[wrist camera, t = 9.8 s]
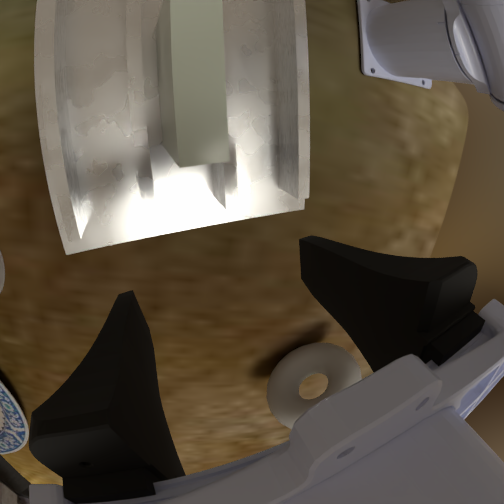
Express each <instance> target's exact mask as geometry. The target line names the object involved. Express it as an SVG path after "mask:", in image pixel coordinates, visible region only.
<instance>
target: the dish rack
mask: <svg viewBox="0 0 504 504" xmlns="http://www.w3.org/2000/svg"><path fill="white" fill-rule="evenodd" d="M162 3H163V0H37V7H36V19H35V39H34V73H35V94H36V107H37V118H38V127H39V135H40V142H41V149H42V155H43V161H44V167H45V172H46V177H47V182H48V187H49V192H50V196H51V201H52V205H53V209H54V213H55V217H56V221H57V225H58V228H59V232H60V236H61V239H62V243H63V246H64V249H65V252H66V255H68V254H73V253H77V252H82V251H86V250H91V249H95V248H100V247H104V246H109V245H114V244H118V243H123V242H128V241H133V240H138V239H142V238H147V237H152V236H157V235H162V234H167V233H172V232H178V231H183V230H188V229H193V228H199V227H204V226H209V225H215V224H220V223H226V222H231V221H237V220H242V219H248V218H254V217H260V216H266V215H272V214H278V213H284V212H290V211H296V210H302V209H304V203H305V198H309V176H310V101H309V64H308V41H307V23H306V8H305V0H222V7H223V34H224V58H225V80H226V100H227V119H228V138H229V155H230V161H228V162H220V163H212V164H205V165H198V166H191V167H184V168H179V166H178V165H177V164H176V163H175V161H174V160H173V159H172V157H171V156H170V155H169V153H168V152H167V151H166V149H165V148H164V147H163V140H162V129H161V118H160V105H159V91H158V74H157V52H156V25H157V21H158V17H159V14H160V10H161V6H162Z"/></svg>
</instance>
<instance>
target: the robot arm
mask: <svg viewBox="0 0 504 504" xmlns="http://www.w3.org/2000/svg"><path fill="white" fill-rule="evenodd" d="M357 4H358V15H359V28H360V45H361V69H362V72H363V74H364V75H367V76H372V77H378V78H383V79H388V80H393V81H398V82H402V83H406V84H411V85H415V86H419V87H423V88H427V89H430V88H431V86H432V80H441V81H451V82H460V83H467V84H474V85H475V87H476V90H477V92H480V93H485V94H489V95H490V99H491V101H492V102H493V104H494V105H495V106H496V107H498V108H499V109H501V110H502V111H504V0H407V1H402V2H397V3H392V4H391V3H389V2H386V1H383V0H368V1H367V0H357ZM371 69H372V72H371ZM299 246H300V263H301V279H302V280H303V282H304V283H305V285H306V286H307V288H308V289H309V291H310V292H311V293H312V295H313V296H314V297H315V298H316V299H317V300H318V302H319V303H320V304H321V305H322V306H323V307H324V308H325V309H326V310H327V311H328V312H329V313H330V314H331V315H332V316H333V318H334V319H335V320H336V321H337V322H338V323H339V324H340V325H341V326H342V327H343V328H344V330H345V331H346V332H347V333H348V335H349V336H350V337H351V339H352V340H353V342H354V343H355V344H356V346H357V347H358V349H359V350H360V352H361V353H362V355H363V356H364V358H365V359H366V361H367V362H368V364H369V365H370V367H371V369H372V370H373V372H374V373H373V374H371V375H369V376H367V377H365V378H364V379H362V380H360V381H358V382H356V383H355V384H353V385H351V386H349V387H347V388H345V389H343V390H341V391H339V392H337V393H335V394H333V395H331V396H329V397H327V398H325V399H324V400H322V401H320V402H319V403H317V404H315V405H314V406H312V407H311V408H309V409H307V410H306V411H305V412H304V413H303V414H302V415H301V416H300V417H299V418H298V419H297V420H296V421H295V423H294V425H293V428H292V430H291V432H290V435H289V439H290V440H289V441H287V442H285V443H282V444H280V445H277V446H275V447H272V448H270V449H267V450H265V451H262V452H260V453H257V454H254V455H251V456H249V457H246V458H243V459H240V460H237V461H234V462H231V463H228V464H225V465H222V466H218V467H215V468H212V469H208V470H205V471H201V472H198V473H194V474H190V475H185V472H184V470H183V468H182V465H181V463H180V460H179V457H178V455H177V452H176V449H175V446H174V443H173V440H172V437H171V434H170V431H169V428H168V425H167V422H166V418H165V415H164V411H163V407H162V404H161V399H160V394H159V387H158V379H157V371H156V363H155V354H154V347H153V343H152V339H151V334H150V330H149V327H148V325H147V323H146V320H145V318H144V316H143V313H142V311H141V309H140V306H139V304H138V302H137V299H136V297H135V294H134V292H133V290H132V291H128V292H125V293H122V294H119V295H118V297H117V299H116V301H115V303H114V305H113V307H112V309H111V311H110V314H109V316H108V318H107V320H106V322H105V324H104V326H103V328H102V330H101V331H100V333H99V335H98V337H97V339H96V341H95V342H94V344H93V346H92V347H91V349H90V350H89V352H88V353H87V355H86V356H85V358H84V359H83V361H82V362H81V363H80V365H79V366H78V367H77V368H76V370H75V371H74V372H73V373H72V374H71V376H70V377H69V378H68V379H67V380H66V382H65V383H64V384H63V385H62V386H61V387H60V388H59V389H58V390H57V391H56V392H55V393H54V394H53V395H52V396H51V397H50V398H49V399H47V400H46V401H45V402H44V403H43V404H42V405H40V406H39V407H38V408H37V409H36V410H34V411H33V412H32V415H31V424H30V435H29V450H30V451H31V453H32V454H33V456H34V457H35V458H36V459H37V460H38V461H40V462H41V463H42V464H43V465H45V466H46V467H48V468H49V469H50V470H52V471H53V472H55V473H56V474H58V475H59V476H61V477H62V478H63V486H61V485H57V484H31V485H29V502H30V504H504V463H503V461H502V460H501V459H500V458H499V457H498V456H497V455H496V454H495V452H494V451H493V450H492V449H491V448H490V447H489V446H488V445H487V444H486V443H485V442H484V441H483V439H482V438H481V437H480V436H479V435H477V433H476V432H475V431H474V430H473V429H472V428H471V427H470V426H469V425H468V424H467V422H466V421H465V420H464V419H465V418H466V417H467V416H468V414H469V413H471V411H472V410H473V409H474V408H475V407H476V406H477V405H478V404H479V403H480V402H481V401H482V400H483V399H484V397H485V396H486V395H487V394H488V393H489V392H490V391H491V390H492V388H493V387H494V386H495V385H496V384H497V383H498V381H499V380H500V379H501V378H502V377H503V376H504V305H502V304H501V303H500V302H498V301H497V300H495V299H493V300H491V302H489V303H488V304H487V305H486V306H485V307H484V308H483V309H482V310H481V311H480V313H479V314H476V313H475V312H474V311H473V310H474V309H475V305H473V304H472V303H471V302H470V299H471V296H472V293H473V290H474V287H475V284H476V280H477V267H476V265H475V264H474V263H473V262H471V261H470V260H468V259H466V258H465V257H462V256H458V257H446V258H414V257H402V256H394V255H388V254H382V253H377V252H372V251H368V250H364V249H360V248H356V247H353V246H349V245H346V244H342V243H339V242H335V241H332V240H329V239H325V238H321V237H317V236H308V237H305V238H302V239H299Z"/></svg>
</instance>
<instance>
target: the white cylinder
mask: <svg viewBox="0 0 504 504" xmlns="http://www.w3.org/2000/svg"><path fill="white" fill-rule="evenodd" d="M4 280H5V268H4V261H3V257H2V254H1V251H0V293H1V291H2V288H3V285H4Z"/></svg>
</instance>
